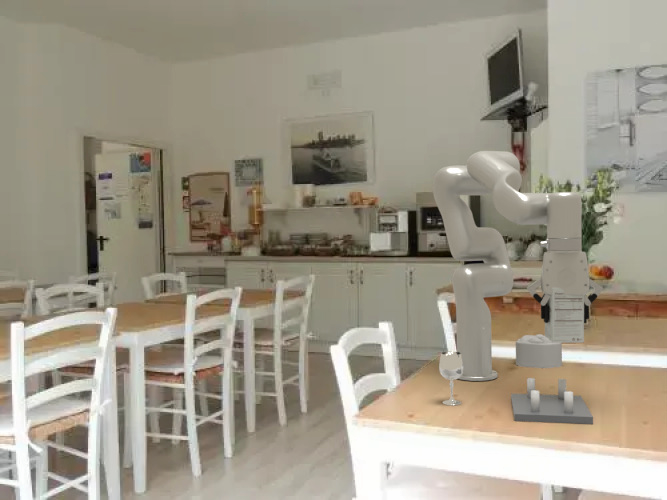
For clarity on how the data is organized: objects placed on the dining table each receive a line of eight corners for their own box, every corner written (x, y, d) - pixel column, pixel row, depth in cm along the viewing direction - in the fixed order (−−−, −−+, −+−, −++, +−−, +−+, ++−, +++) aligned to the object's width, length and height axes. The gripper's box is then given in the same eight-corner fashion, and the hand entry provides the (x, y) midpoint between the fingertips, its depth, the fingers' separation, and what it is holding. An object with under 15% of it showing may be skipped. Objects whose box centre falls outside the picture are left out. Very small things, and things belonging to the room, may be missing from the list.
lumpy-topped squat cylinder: (520, 359, 210) (519, 332, 209) (563, 362, 204) (563, 334, 204) (514, 366, 200) (513, 337, 200) (559, 369, 195) (559, 340, 194)
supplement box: (544, 337, 160) (543, 284, 159) (575, 337, 159) (575, 284, 158) (551, 342, 152) (551, 287, 152) (584, 342, 152) (584, 287, 151)
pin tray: (514, 420, 145) (514, 393, 145) (511, 399, 162) (510, 375, 162) (593, 424, 141) (592, 396, 141) (580, 401, 159) (580, 377, 159)
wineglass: (465, 400, 162) (464, 351, 162) (462, 406, 157) (461, 356, 157) (441, 399, 164) (441, 350, 164) (437, 405, 159) (436, 355, 158)
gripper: (526, 247, 152) (527, 324, 152) (607, 246, 148) (608, 325, 149) (523, 246, 159) (524, 319, 160) (600, 245, 156) (601, 320, 156)
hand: (564, 321), depth 154 cm, fingers closed on supplement box, 7 cm apart
